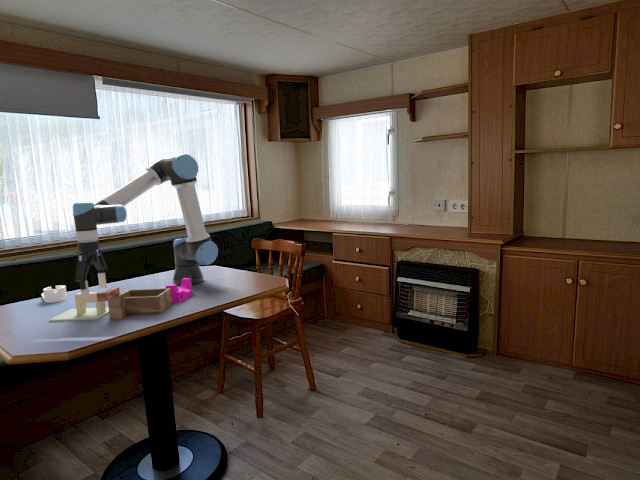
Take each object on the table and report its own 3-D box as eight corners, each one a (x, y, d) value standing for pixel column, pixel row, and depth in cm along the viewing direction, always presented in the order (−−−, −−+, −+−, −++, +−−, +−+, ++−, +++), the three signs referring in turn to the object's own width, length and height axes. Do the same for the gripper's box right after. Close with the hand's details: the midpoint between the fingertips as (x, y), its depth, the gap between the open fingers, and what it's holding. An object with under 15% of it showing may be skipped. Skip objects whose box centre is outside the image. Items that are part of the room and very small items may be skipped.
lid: (71, 310, 179) (69, 289, 177) (116, 309, 179) (114, 287, 177) (49, 322, 164) (46, 299, 163) (98, 320, 164) (95, 297, 162)
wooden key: (112, 293, 164) (111, 286, 164) (120, 293, 164) (119, 285, 164) (97, 301, 153) (96, 293, 153) (106, 301, 153) (105, 293, 153)
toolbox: (130, 305, 182) (128, 284, 181) (172, 304, 182) (170, 283, 181) (107, 319, 163) (105, 296, 161) (154, 318, 162) (152, 294, 161)
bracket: (68, 301, 193) (66, 287, 192) (46, 305, 188) (44, 291, 187) (62, 294, 209) (60, 280, 208) (41, 297, 204) (39, 284, 203)
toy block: (179, 302, 185) (178, 285, 184) (166, 302, 186) (165, 285, 185) (197, 293, 199) (195, 278, 198) (185, 293, 201) (183, 278, 200)
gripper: (94, 237, 181) (101, 285, 185) (59, 246, 157) (67, 301, 160) (112, 236, 181) (118, 284, 184) (79, 245, 157) (87, 300, 160)
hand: (94, 292), depth 172 cm, fingers open, 13 cm apart
